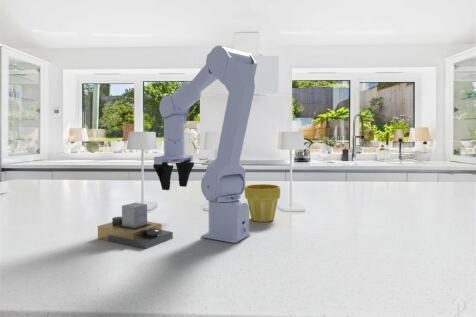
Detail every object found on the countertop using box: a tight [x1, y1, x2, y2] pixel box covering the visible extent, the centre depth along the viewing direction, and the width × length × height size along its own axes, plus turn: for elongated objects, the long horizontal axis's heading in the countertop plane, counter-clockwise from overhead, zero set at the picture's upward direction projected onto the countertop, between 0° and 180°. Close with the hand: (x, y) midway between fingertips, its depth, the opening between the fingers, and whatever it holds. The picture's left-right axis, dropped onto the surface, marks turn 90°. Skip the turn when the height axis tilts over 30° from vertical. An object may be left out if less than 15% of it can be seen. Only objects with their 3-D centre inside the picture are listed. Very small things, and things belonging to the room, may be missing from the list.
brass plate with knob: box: [97, 216, 174, 250], centre depth 80 cm, size 15×9×4 cm, turn 61°
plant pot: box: [244, 183, 281, 223], centre depth 99 cm, size 10×10×10 cm
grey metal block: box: [121, 202, 148, 230], centre depth 80 cm, size 4×4×8 cm
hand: (174, 188), depth 96 cm, fingers open, 7 cm apart
